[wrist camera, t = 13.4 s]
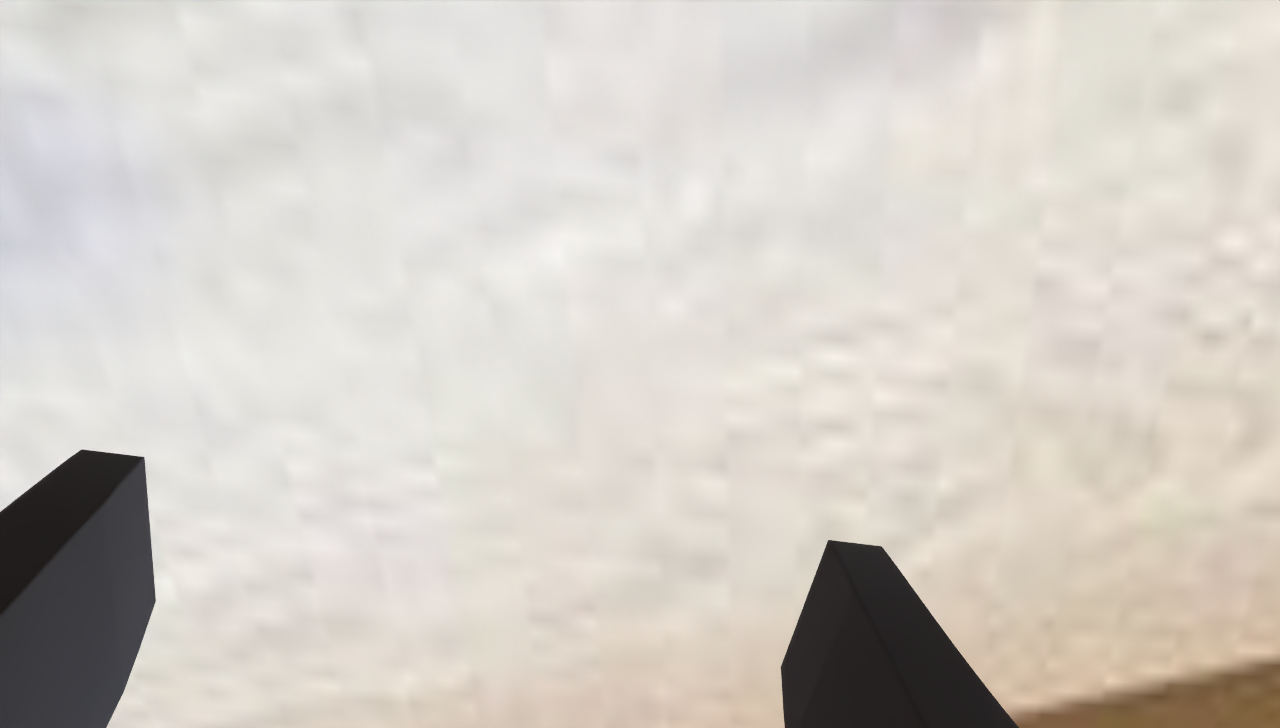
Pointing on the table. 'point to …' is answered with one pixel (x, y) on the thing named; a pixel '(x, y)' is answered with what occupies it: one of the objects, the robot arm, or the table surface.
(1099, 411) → the table surface
